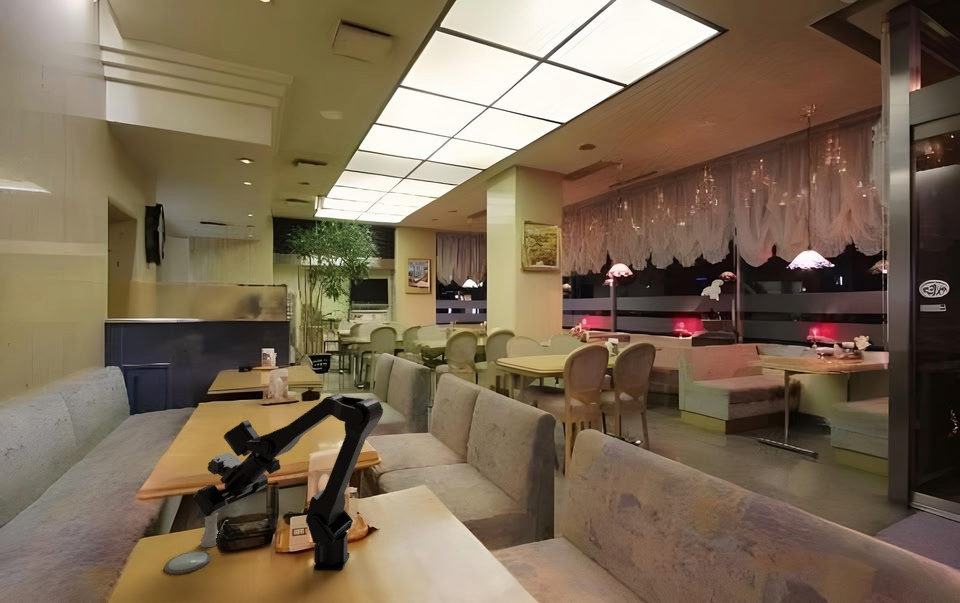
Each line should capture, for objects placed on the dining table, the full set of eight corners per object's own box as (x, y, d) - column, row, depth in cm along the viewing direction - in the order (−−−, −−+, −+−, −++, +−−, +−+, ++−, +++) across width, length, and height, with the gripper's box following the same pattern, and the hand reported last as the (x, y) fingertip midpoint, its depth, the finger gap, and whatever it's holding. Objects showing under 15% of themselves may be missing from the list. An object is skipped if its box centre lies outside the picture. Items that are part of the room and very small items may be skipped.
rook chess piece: (211, 549, 111) (212, 516, 112) (195, 547, 112) (196, 514, 113) (225, 540, 116) (225, 508, 116) (209, 538, 117) (210, 507, 117)
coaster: (218, 553, 110) (218, 550, 110) (196, 574, 101) (196, 571, 101) (180, 553, 110) (181, 550, 110) (154, 574, 101) (154, 571, 101)
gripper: (259, 434, 122) (224, 472, 125) (201, 455, 104) (161, 499, 107) (284, 467, 120) (248, 504, 123) (228, 494, 102) (187, 537, 105)
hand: (213, 509), depth 114 cm, fingers open, 9 cm apart
